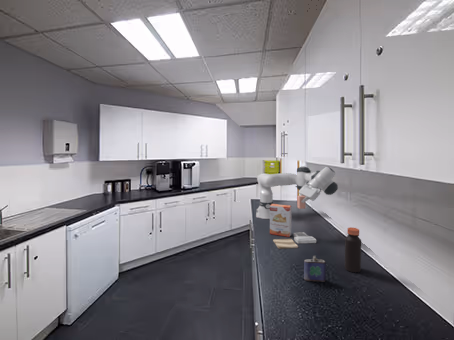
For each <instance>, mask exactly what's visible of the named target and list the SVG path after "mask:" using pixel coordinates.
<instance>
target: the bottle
mask: <svg viewBox="0 0 454 340" xmlns="http://www.w3.org/2000/svg"><path fill="white" fill-rule="evenodd" d="M359 236H360V229H359V228H357V227H347V236H345V238H344V269H345V271H348V272H351V273H354V272H355V274H357V273H356V272H358V273H360V272H361V271H362V270H361V269H362V265H361V264H362V239H361V238H360V237H359Z"/></svg>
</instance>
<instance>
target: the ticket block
mask: <svg viewBox="0 0 454 340" xmlns="http://www.w3.org/2000/svg"><path fill="white" fill-rule="evenodd" d="M304 198H305V196H300V195H297V197H296V199H297V200H296V203H297V206H296V208H297V209H299V210H303V209H306V202H307V201H306V202H304V203H302V202H301V200H302V199H304Z"/></svg>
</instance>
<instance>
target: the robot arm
mask: <svg viewBox="0 0 454 340" xmlns="http://www.w3.org/2000/svg"><path fill="white" fill-rule="evenodd" d="M335 175H336V172H335V171H334V170H333V169H332V168H331V167H329V166H325V167H324V168H322V169H321V170H316V171H313V172H312V170H310V168H309V167H307V166H299V167H297V168H296V174H295V173H289V172H288V173H287V172H284V173H280V172H279V173H273V174H271V173H270V174H269V173H266V172H263V173H260V174H257V176H256V180H257V181H256V182H257V183H258V189H259V206H258V208H256V212H255V213H256V214H255V217H256V218H258V219H263V220H270V205H271V204H274V202H273V200H274V199H273V198H274V197H273V194H274V193H273V190H272V188H273V187H279V186H282V187H283V186H293V185H295V188H297V190H298V194H299V196H305V198H304V199H302V200H301V202H302V203H304V202H307V201H309V200H311V201H312V202H313V201H315V200H317V199H318V197H319V196H320V195H321V193H322V192H323V193H324V194H325V195H326V196H331V195H333V194H335V193H336V192H337V191H338V189H339V187H338V183H336V182H335V181H334V180H333V178H334V177H335Z"/></svg>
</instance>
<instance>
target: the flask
mask: <svg viewBox="0 0 454 340" xmlns="http://www.w3.org/2000/svg"><path fill="white" fill-rule="evenodd" d="M303 262H304V263H303V264H304V265H303V267H304V269H303V279H304V281H307V282H326V274H327V273H326V270H327V267H326V266H327V262H326V261H325V260H324V259H321V258H319V259H318V258H317V257H316V255H313V256H312V258H311V259H309V258H308V259H304V261H303Z"/></svg>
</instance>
